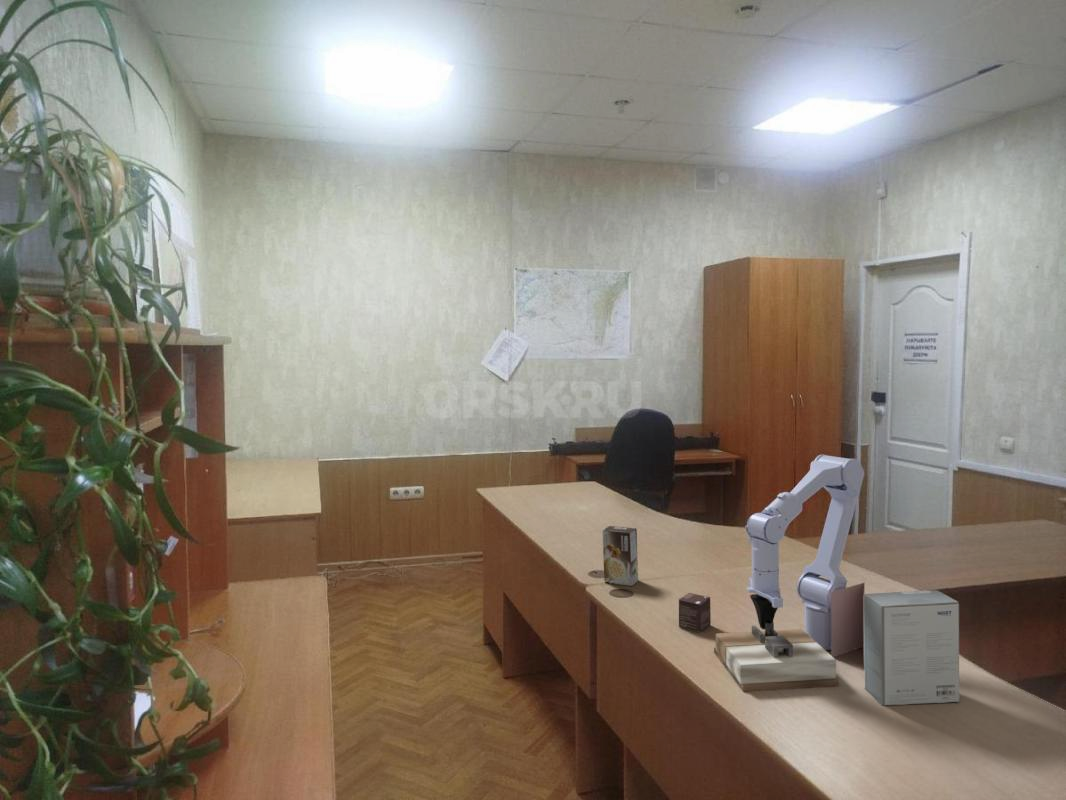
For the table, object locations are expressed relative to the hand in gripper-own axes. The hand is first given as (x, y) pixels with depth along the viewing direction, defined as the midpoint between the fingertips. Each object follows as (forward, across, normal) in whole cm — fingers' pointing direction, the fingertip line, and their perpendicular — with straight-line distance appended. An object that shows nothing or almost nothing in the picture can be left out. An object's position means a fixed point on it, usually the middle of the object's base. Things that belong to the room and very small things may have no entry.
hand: (765, 628), depth 160 cm
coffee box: (+8, -58, -22) cm, 63 cm away
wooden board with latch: (+7, +4, 0) cm, 8 cm away
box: (+8, -21, -10) cm, 25 cm away
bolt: (+2, +4, 0) cm, 5 cm away
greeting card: (+8, 0, +21) cm, 23 cm away
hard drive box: (+8, +19, +22) cm, 30 cm away
